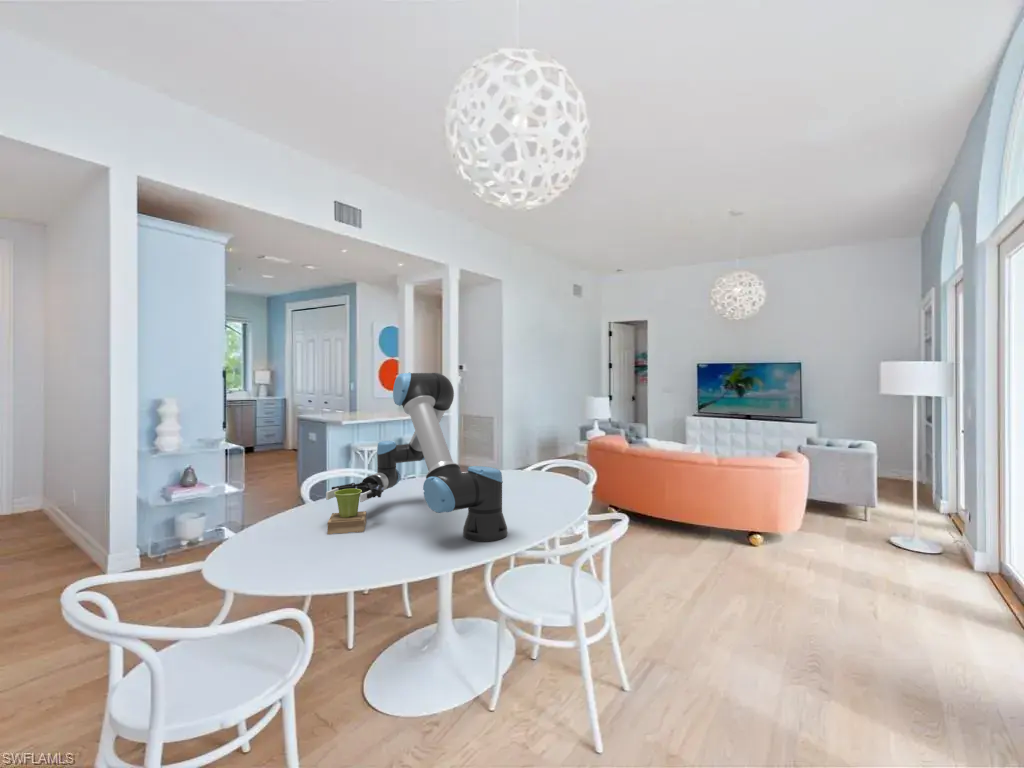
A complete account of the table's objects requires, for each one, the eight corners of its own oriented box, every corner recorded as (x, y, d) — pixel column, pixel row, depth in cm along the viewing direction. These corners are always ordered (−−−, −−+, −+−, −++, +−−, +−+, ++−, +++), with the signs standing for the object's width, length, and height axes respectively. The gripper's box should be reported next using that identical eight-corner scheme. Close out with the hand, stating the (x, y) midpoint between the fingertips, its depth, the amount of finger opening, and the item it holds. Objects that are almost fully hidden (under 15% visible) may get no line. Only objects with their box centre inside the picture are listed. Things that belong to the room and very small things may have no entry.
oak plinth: (363, 531, 175) (363, 519, 175) (327, 534, 173) (327, 521, 173) (366, 521, 187) (366, 510, 187) (332, 524, 185) (332, 512, 184)
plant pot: (353, 520, 175) (353, 495, 175) (329, 518, 177) (329, 493, 176) (366, 512, 184) (366, 489, 184) (343, 511, 186) (343, 488, 186)
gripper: (403, 495, 195) (375, 510, 174) (346, 491, 201) (313, 505, 181) (403, 476, 195) (375, 488, 174) (346, 473, 201) (312, 484, 181)
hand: (343, 497), depth 177 cm, fingers open, 13 cm apart
